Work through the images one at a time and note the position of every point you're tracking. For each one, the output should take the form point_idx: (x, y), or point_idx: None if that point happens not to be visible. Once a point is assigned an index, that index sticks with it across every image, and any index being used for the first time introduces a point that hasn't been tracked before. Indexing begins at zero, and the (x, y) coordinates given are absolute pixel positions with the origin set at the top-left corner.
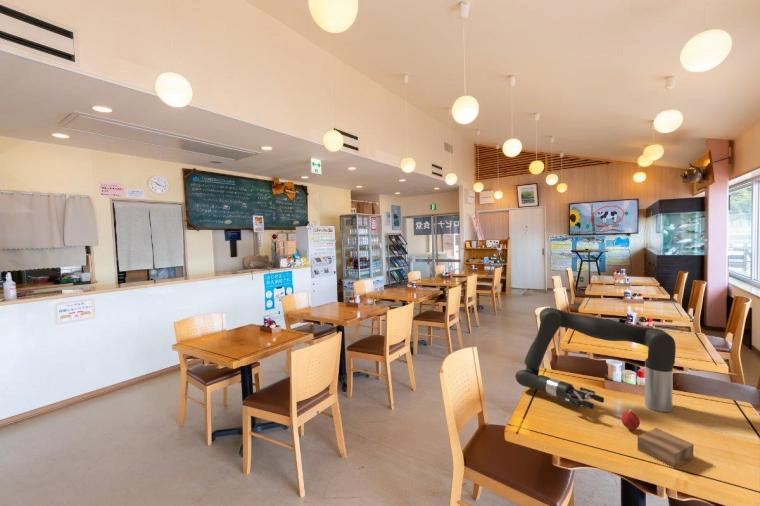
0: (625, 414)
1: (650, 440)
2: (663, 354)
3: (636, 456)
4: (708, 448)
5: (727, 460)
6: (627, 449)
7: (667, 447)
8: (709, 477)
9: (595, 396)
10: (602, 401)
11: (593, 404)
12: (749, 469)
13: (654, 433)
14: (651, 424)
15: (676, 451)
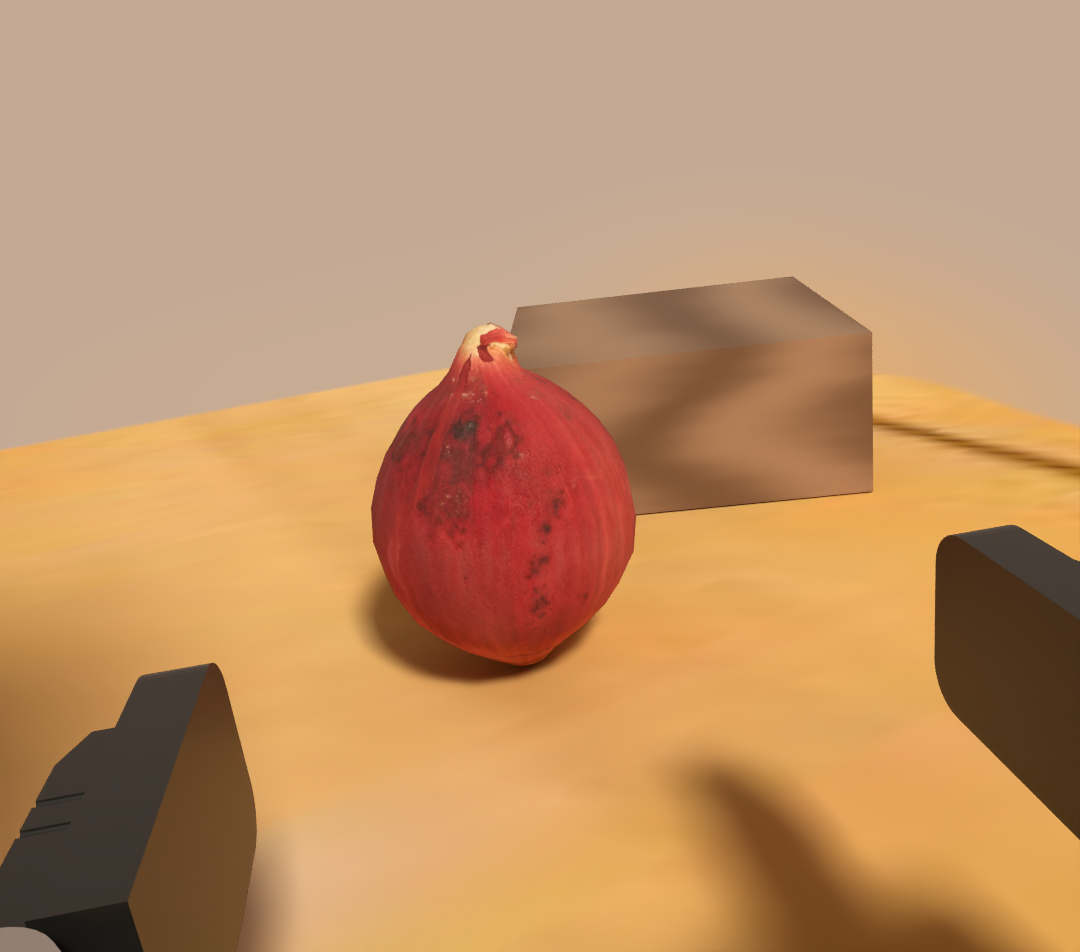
0: (566, 414)
1: (808, 314)
2: None
3: (978, 460)
4: (271, 457)
5: (356, 412)
6: (981, 505)
7: (762, 293)
8: None
9: (160, 898)
10: (243, 795)
11: (970, 539)
12: (367, 386)
13: (638, 344)
14: (99, 673)
15: (748, 282)
